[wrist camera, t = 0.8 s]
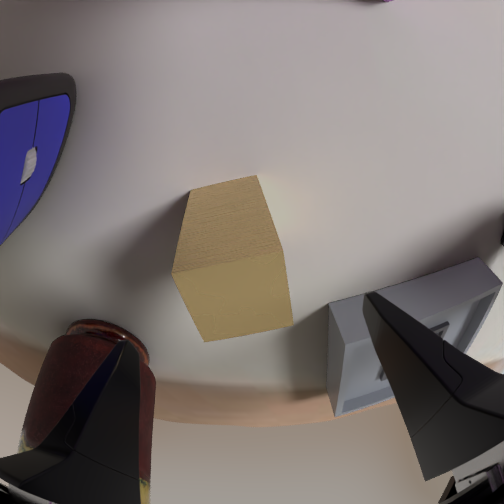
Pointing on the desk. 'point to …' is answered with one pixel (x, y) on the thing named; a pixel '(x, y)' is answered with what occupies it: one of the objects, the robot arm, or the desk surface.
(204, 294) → the connector plug
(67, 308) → the desk surface
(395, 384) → the robot arm
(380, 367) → the grey socket tray
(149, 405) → the vase
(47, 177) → the blue screen device
